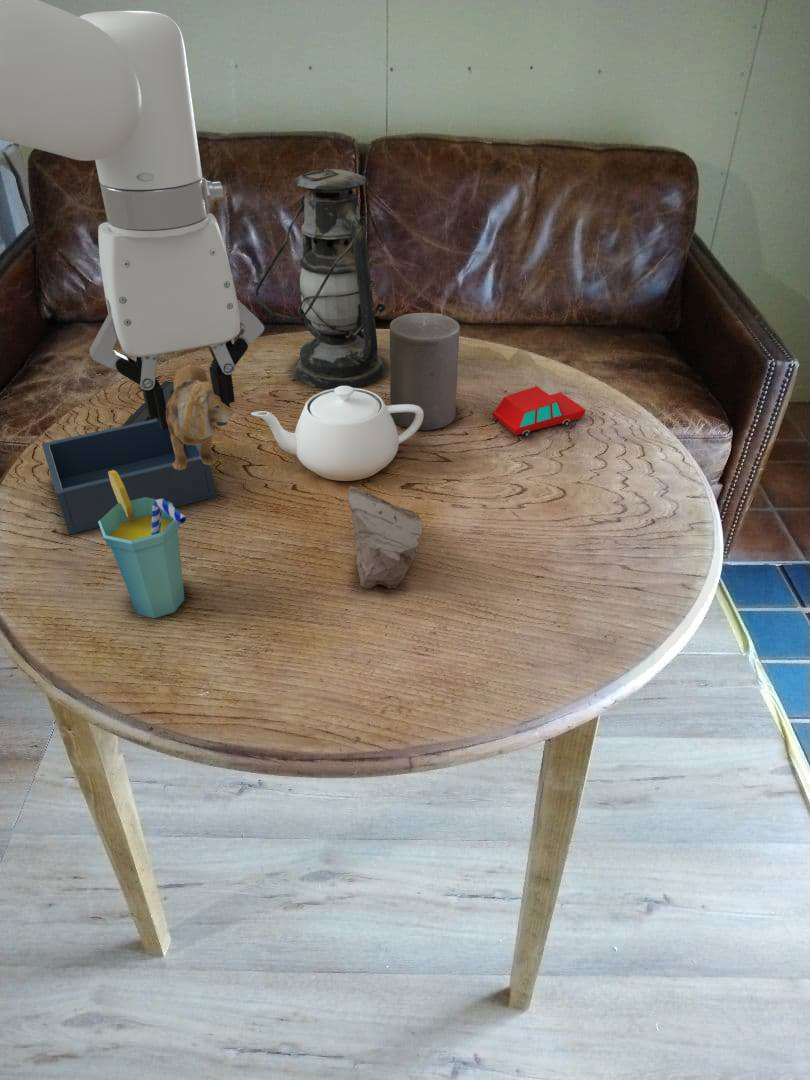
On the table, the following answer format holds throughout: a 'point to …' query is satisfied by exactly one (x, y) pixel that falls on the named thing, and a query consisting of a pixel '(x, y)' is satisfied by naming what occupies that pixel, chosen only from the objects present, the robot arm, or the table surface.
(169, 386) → the vhs tape
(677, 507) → the table surface
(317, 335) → the lantern
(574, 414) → the toy car
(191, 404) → the lion figurine
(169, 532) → the cup
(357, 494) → the stone
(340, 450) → the teapot
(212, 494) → the dark blue storage bin
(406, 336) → the pillar candle
